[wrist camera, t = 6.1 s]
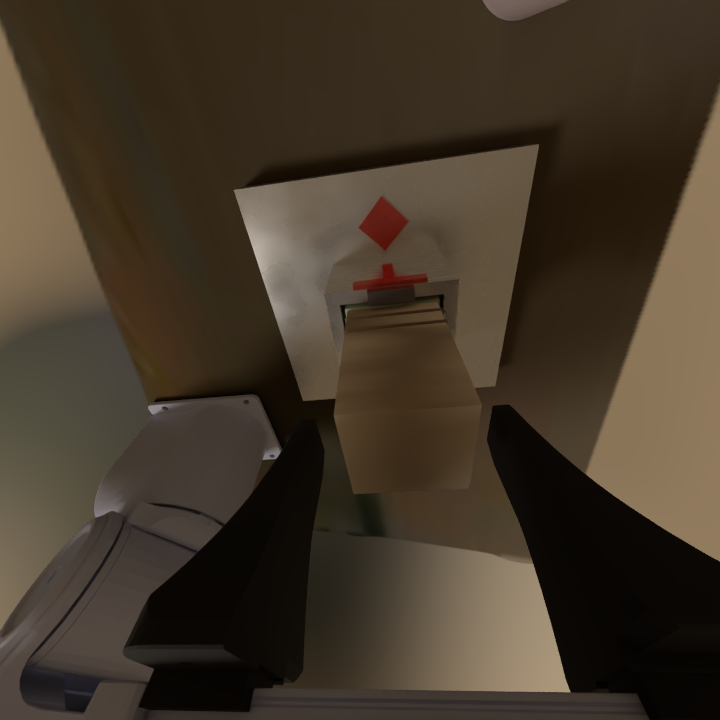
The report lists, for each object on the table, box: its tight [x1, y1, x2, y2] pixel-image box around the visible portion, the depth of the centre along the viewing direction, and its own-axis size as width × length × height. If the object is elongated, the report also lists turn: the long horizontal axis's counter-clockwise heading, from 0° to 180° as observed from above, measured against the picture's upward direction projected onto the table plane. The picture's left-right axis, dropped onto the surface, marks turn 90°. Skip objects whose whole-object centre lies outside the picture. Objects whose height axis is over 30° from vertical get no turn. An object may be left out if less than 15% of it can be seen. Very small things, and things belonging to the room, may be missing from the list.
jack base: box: [234, 144, 539, 401], centre depth 16 cm, size 14×14×6 cm
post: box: [334, 295, 482, 494], centre depth 12 cm, size 4×4×8 cm
